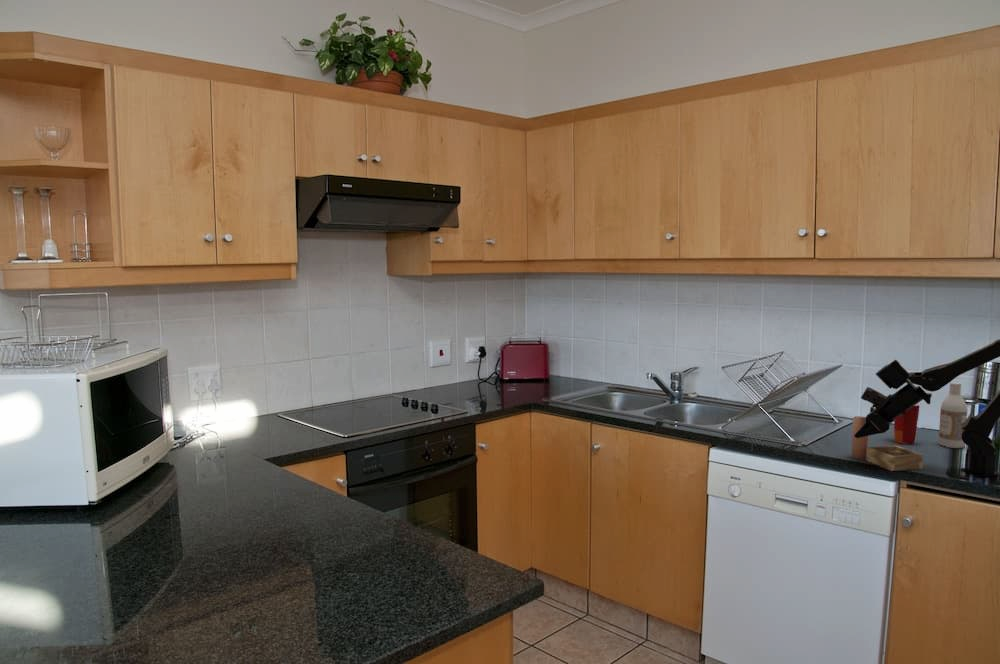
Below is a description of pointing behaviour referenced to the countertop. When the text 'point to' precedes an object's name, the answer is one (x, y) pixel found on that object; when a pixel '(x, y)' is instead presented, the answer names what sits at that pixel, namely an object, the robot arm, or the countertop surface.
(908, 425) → the paper cup
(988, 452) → the robot arm
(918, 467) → the box
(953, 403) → the bath foam
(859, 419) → the peg
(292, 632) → the countertop surface
